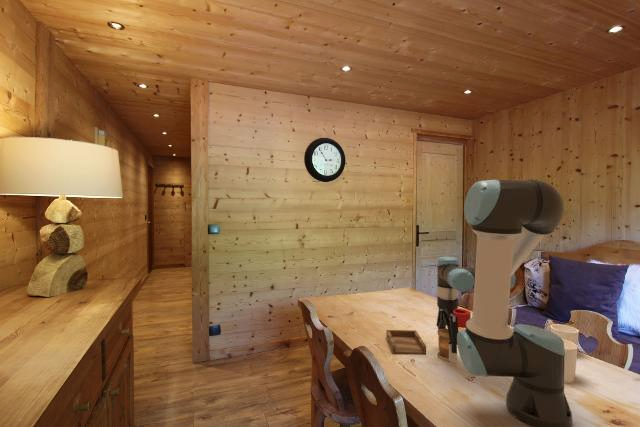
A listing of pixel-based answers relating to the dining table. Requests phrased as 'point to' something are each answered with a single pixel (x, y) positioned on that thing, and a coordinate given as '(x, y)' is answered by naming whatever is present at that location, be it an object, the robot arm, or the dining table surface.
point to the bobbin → (443, 344)
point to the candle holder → (570, 361)
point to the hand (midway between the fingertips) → (447, 353)
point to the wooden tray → (405, 342)
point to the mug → (565, 332)
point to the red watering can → (462, 317)
